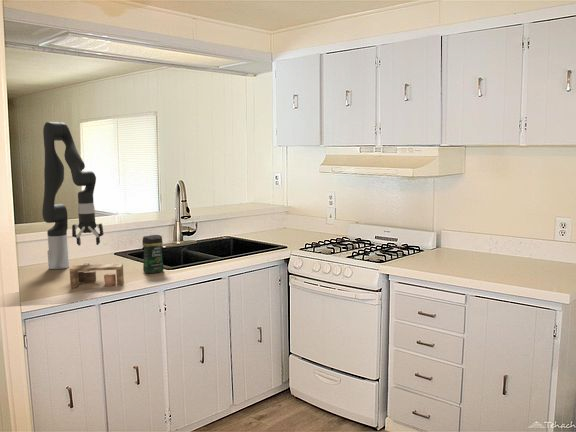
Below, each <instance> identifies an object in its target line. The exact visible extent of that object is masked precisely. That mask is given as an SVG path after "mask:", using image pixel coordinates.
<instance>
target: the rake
mask: <svg viewBox="0 0 576 432" xmlns="http://www.w3.org/2000/svg"><path fill="white" fill-rule="evenodd" d="M82 265H90V262H84V263H83V264H82ZM78 276H79V283H88V282H89V283H90V282H96V281H97V270H96V271H78Z"/></svg>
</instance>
